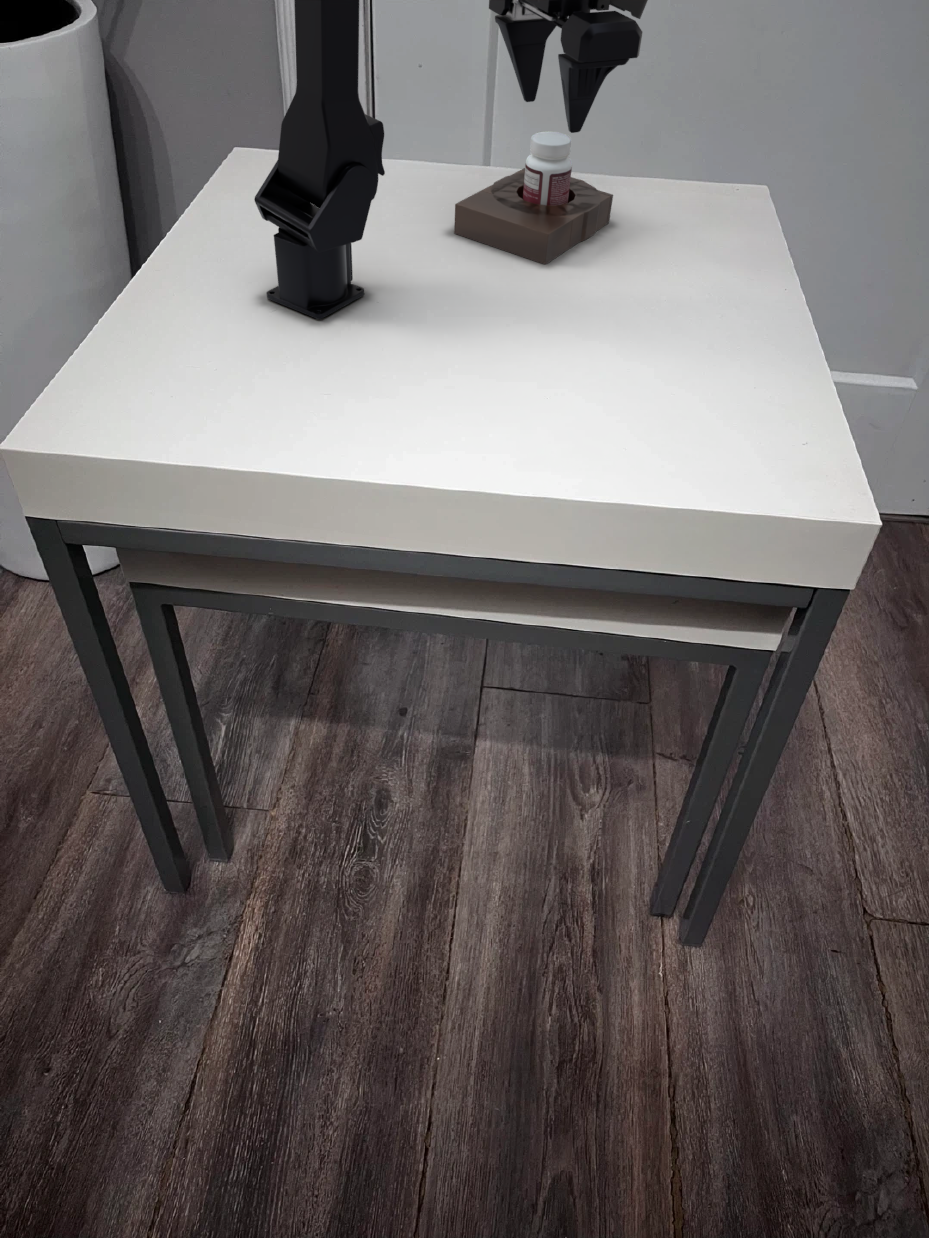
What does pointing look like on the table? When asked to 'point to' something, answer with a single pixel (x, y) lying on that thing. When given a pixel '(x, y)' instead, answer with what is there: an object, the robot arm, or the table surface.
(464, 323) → the table surface
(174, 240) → the table surface
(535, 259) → the brown block with hole
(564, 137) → the pill bottle
